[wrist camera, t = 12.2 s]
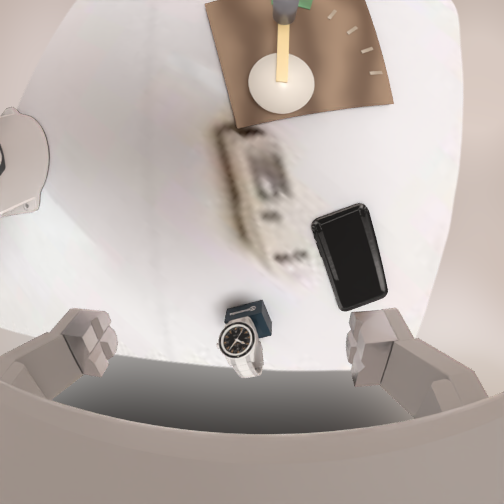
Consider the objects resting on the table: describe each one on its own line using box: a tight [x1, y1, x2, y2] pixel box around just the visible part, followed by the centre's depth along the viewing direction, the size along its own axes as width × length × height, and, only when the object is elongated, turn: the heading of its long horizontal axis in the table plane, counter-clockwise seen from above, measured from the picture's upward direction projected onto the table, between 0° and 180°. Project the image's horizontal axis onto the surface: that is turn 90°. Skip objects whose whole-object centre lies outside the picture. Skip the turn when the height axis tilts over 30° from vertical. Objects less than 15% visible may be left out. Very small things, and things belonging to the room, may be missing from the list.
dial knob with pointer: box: [248, 0, 314, 114], centre depth 24 cm, size 14×7×8 cm, turn 178°
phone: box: [312, 203, 388, 311], centre depth 40 cm, size 8×1×15 cm
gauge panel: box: [205, 0, 394, 129], centre depth 28 cm, size 19×17×2 cm
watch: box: [217, 300, 272, 378], centre depth 39 cm, size 6×8×11 cm
